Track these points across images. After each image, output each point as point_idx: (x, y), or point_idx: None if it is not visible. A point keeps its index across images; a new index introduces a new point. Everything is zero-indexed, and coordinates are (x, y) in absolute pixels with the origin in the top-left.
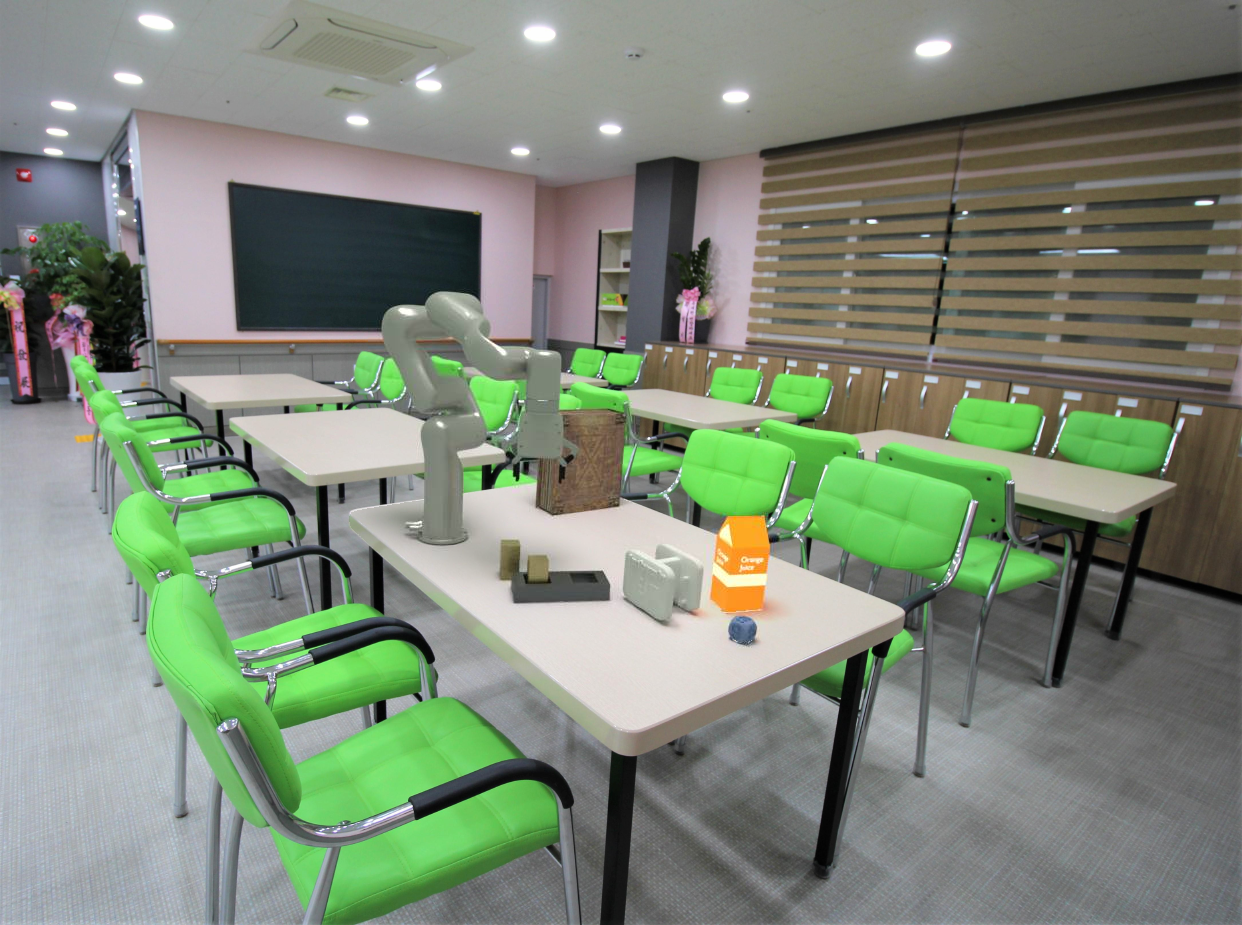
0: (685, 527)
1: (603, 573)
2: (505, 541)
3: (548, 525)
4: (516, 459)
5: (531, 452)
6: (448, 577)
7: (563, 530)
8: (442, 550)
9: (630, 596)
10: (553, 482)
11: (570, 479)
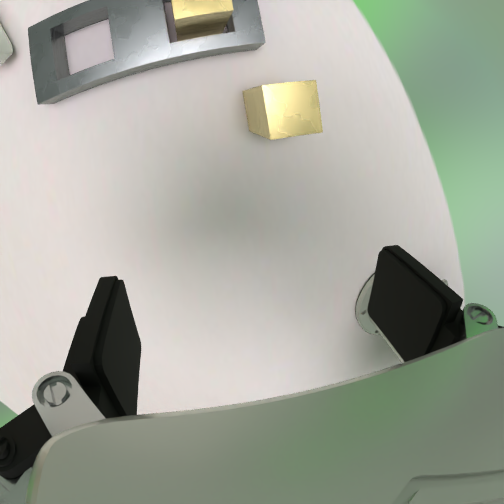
0: (12, 407)
1: (36, 86)
2: (309, 118)
3: (213, 394)
4: (482, 328)
5: (478, 384)
6: (382, 99)
7: (182, 381)
8: (396, 235)
9: (3, 32)
10: None
11: None
